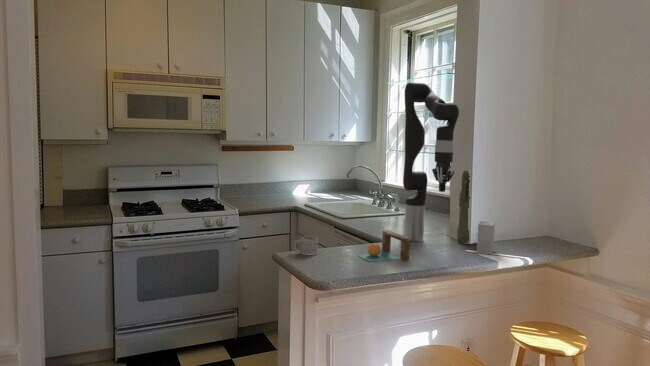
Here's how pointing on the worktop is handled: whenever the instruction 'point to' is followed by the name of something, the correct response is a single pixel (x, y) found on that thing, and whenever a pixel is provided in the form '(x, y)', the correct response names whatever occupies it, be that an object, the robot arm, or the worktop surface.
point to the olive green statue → (463, 209)
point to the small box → (485, 237)
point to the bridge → (404, 244)
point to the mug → (307, 245)
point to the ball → (374, 249)
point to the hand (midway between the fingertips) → (441, 191)
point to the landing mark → (378, 257)
